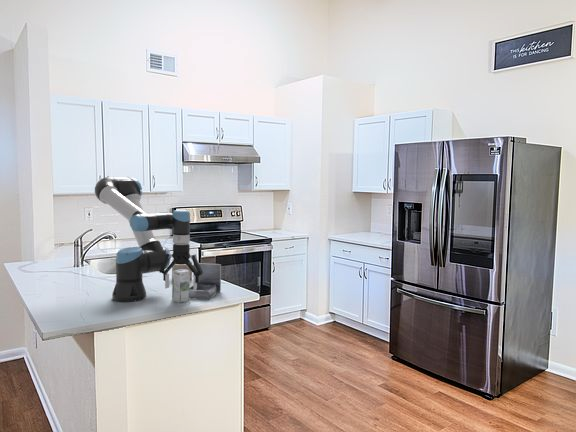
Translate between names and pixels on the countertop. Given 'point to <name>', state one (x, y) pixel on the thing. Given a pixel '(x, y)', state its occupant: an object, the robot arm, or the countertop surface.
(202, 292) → the bracket
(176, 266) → the planter
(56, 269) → the countertop surface
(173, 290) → the syrup box
